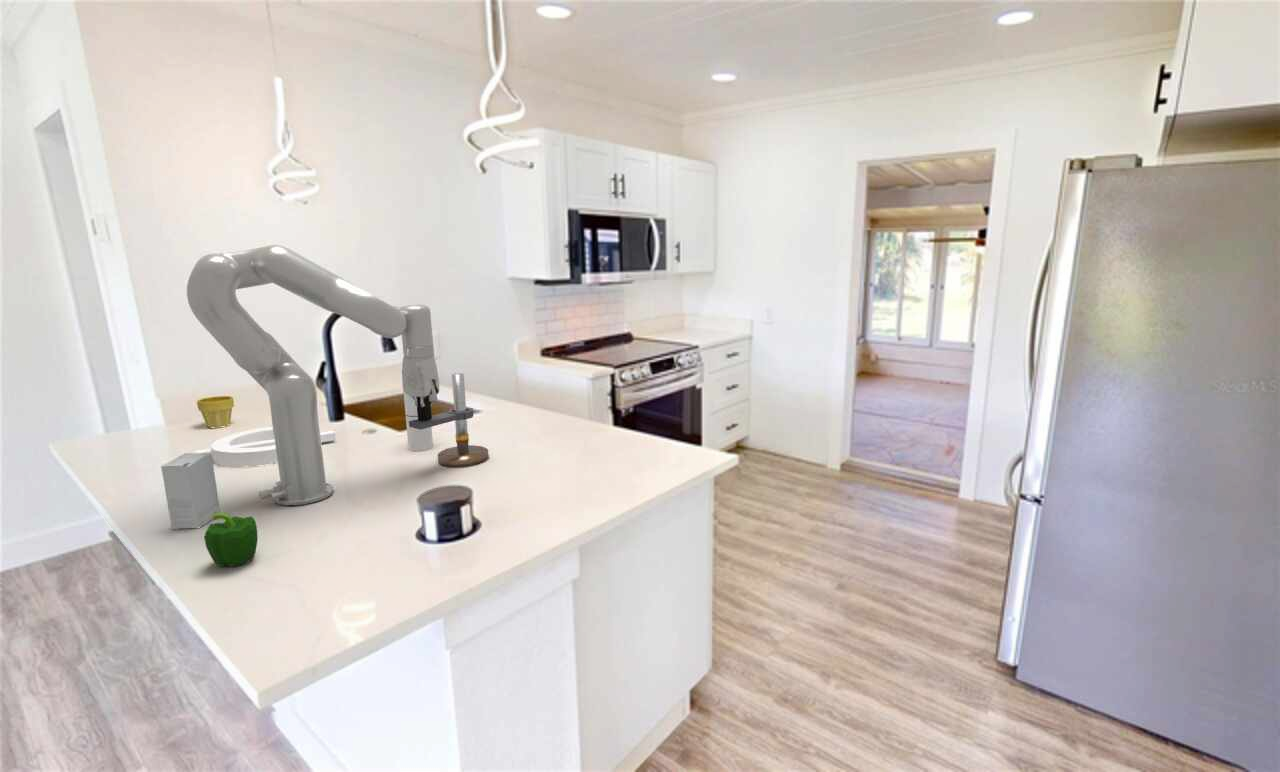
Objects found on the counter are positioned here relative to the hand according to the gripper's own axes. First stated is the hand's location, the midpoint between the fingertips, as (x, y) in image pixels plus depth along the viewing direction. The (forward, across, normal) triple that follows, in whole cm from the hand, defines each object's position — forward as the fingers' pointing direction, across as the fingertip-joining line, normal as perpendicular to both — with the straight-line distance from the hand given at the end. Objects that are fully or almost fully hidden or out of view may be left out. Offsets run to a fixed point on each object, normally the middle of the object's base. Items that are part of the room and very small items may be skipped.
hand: (425, 419), depth 161 cm
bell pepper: (+14, +12, -52) cm, 56 cm away
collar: (+2, 0, +6) cm, 6 cm away
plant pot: (+14, -101, -12) cm, 103 cm away
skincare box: (+14, -15, -49) cm, 54 cm away
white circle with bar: (+15, -55, -16) cm, 59 cm away
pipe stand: (+15, 0, +12) cm, 19 cm away
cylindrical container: (+15, -20, +12) cm, 27 cm away
